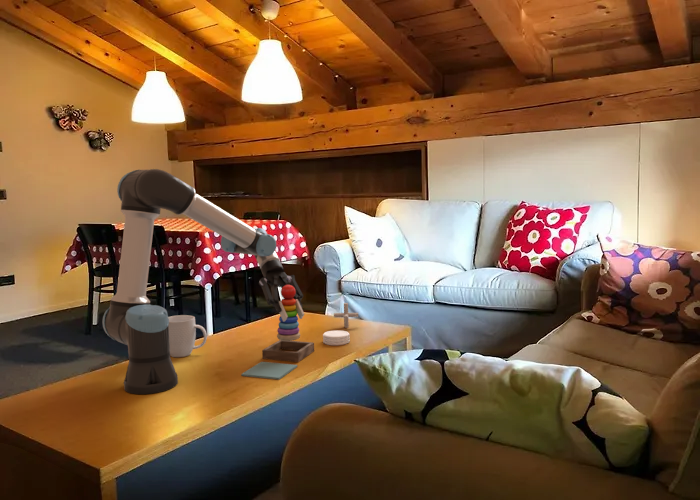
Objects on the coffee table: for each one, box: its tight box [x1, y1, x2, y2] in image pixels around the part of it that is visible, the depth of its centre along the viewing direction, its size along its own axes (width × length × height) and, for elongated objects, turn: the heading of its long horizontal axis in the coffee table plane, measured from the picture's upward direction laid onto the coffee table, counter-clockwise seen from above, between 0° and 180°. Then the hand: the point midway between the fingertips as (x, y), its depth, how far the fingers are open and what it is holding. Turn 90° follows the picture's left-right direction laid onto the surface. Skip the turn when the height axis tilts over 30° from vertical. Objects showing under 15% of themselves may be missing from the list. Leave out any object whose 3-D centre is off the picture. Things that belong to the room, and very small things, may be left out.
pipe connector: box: [333, 302, 359, 329], centre depth 238 cm, size 10×10×10 cm
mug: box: [168, 314, 208, 358], centre depth 204 cm, size 15×11×13 cm
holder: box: [261, 339, 315, 363], centre depth 201 cm, size 13×13×3 cm
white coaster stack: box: [322, 329, 351, 346], centre depth 217 cm, size 10×10×4 cm
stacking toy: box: [276, 284, 301, 341], centre depth 200 cm, size 8×8×19 cm
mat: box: [241, 361, 298, 380], centre depth 184 cm, size 13×13×1 cm
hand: (293, 317), depth 198 cm, fingers closed on stacking toy, 6 cm apart
